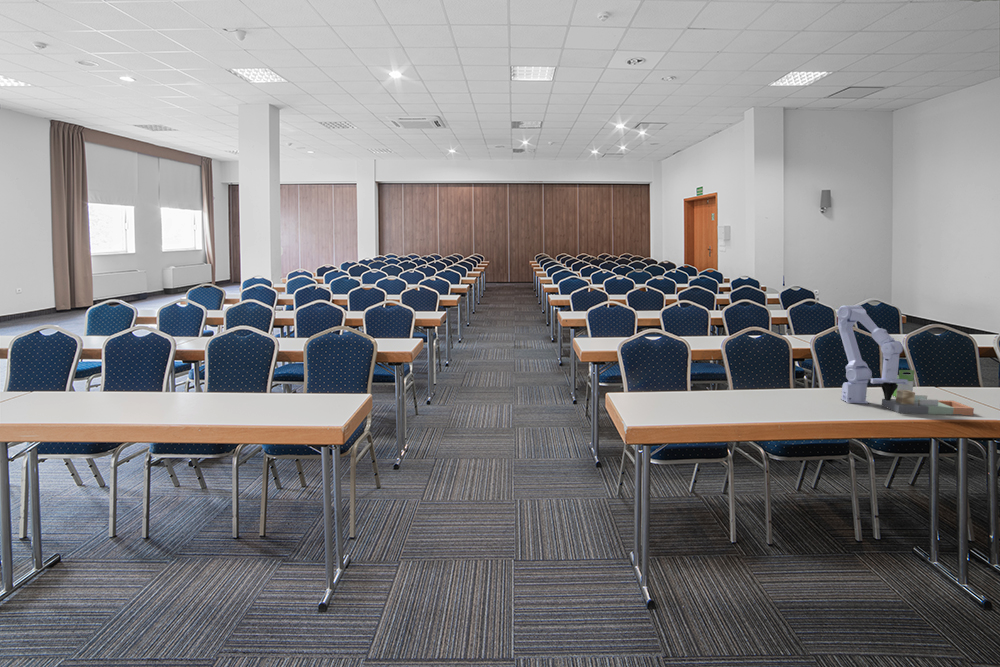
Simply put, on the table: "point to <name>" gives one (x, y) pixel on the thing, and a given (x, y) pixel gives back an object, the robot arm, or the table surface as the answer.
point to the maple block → (905, 397)
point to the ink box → (908, 377)
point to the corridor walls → (925, 401)
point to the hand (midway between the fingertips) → (887, 400)
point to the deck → (929, 407)
